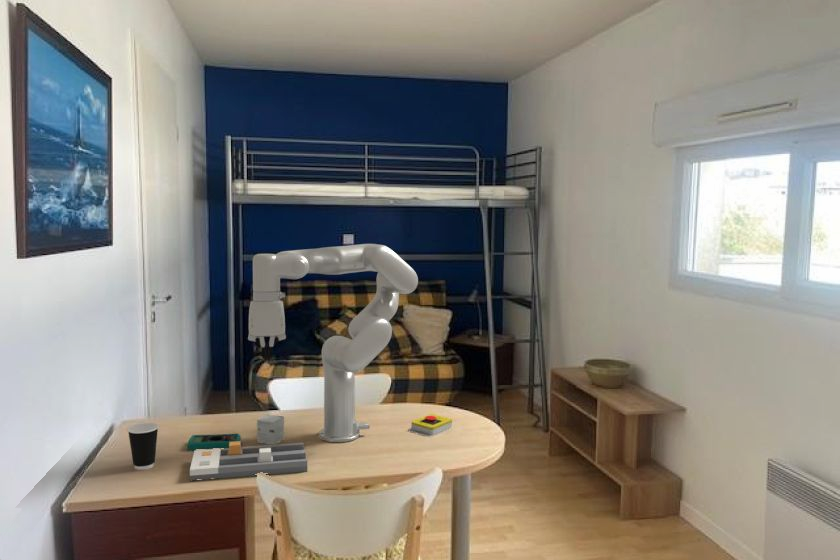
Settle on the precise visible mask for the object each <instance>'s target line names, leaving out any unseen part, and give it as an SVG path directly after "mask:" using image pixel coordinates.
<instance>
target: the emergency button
mask: <svg viewBox="0 0 840 560" xmlns="http://www.w3.org/2000/svg"><path fill="white" fill-rule="evenodd" d="M452 424H453V419H452V418H448V417H447V416H441V415H437V414H432V413H431V414H428V415H425V416H422V417H420V418H417V419H414V420H413V421H411V428H409V429H408V432H409V431H410V433H412V432H413V434H416V433H417V434H416V435H419V434H420V436H423V437H426V436H427V438H432V437H434V436H436V435H439V434H442V433H443V431H444V432H445V430H446V431H448V430H450V429H449V428H451V427H452ZM447 429H448V430H447ZM451 429H452V428H451Z"/></svg>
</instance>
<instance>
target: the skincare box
mask: <svg viewBox="0 0 840 560" xmlns="http://www.w3.org/2000/svg"><path fill="white" fill-rule="evenodd" d="M256 427H257V428H256V442H257V443H258V442H259V443H258V444H263V443H266V444H265V445H270V444H271V445H277V444H278V443H280V442H281V441H283V440H285V416H283V415H277V414H265V415H264V416H262V417H259V418H258V419H256ZM279 441H280V442H279ZM276 443H277V444H276Z"/></svg>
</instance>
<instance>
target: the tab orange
mask: <svg viewBox="0 0 840 560" xmlns="http://www.w3.org/2000/svg"><path fill="white" fill-rule="evenodd" d="M241 444H242V440H241V441H236V442H229V450H228V453H227V456H229V455H243V449H241V447H242V446H241Z"/></svg>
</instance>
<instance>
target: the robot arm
mask: <svg viewBox="0 0 840 560" xmlns="http://www.w3.org/2000/svg"><path fill="white" fill-rule="evenodd" d="M360 272H361V273H362V272H377V275H376V291H375V296H374V297H373V299H372V300H371V301H370V302H369V303H368V304H367V305H366V306H365V307H364V308H363V309H362V310H361V311H359V313H357V315H355V317H354V318H353V319H352V320H351V321H350V322H349V324H348V330H347V331H348V334H349V335H350V337H351V338H349V337H345V336H342V335H333V336H331V337H329V338H327V339H326V340H325V342H324V343H323V344H322V348H321V361H322V368H323V382H324V383H323V386H324V387H323V388H324V389H323V391H324V392H323V394H324V395H323V399H324V400H323V403H324V404H323V405H324V406H323V410H324V411H323V413H324V415H323V422H324V423H323V427H324V428H323V429H321V430H320V431H319V433H318V436H319V438H320V439H321V440H323V441H325V442H330V443H345V442H350V441H354V440H357V439H358V438H359V437H360V430H361V431H362V430H365V431H366V430H370V428H371V425H370V423H369V422H367V423H365V421H360V422H358V421H356V418H355V417H356V416H355V415H356V406H355V405H356V404H355V400H356V399H355V398H356V396H355V395H356V393H355V391H356V380H355V379H356V377H355V373H359V372H360V371H362V370H364V369H365V368H367V366H368V365H369V364H370V363H371V362H372V361H373V360H374V359H375V358H376V357H377V356H378V355H379V354H380V353H381V352H382V351H383V350H384V349H385V348H386V347H387V345H388V344H389V342H390V341H391V339H392V334H393V327H392V324H391V323H390V320H391V319H392V318H393V317H394V316H395V315H396V313H397V310H398V307H399V301H400V300H399V299H400V294H401V295H408V294H411V293H413V292H414V291H415V290H416V289H417V288H418V285H419V277H418V275H417V273H416V271H415V270H414V268H413V267H411V266H410V265H409V264H408V263H407V262H406V261H405V260H403V258H401V257H400V256H399V254H397V253H396V252H395V251H393V249H392V248H390V247H388V246H387V245H384V244H377V243H361V244H352V245H351V244H350V245H341V246H327V247H319V248H308V249H295V250H284V251H280V252H277V253H257V254H255V255H254V256H253V258H252V291H253V292H252V299H253V300H252V301H250V302H249V304H250V305H249V309H248V337H247V340H248V341H250V342H255V343H257V344H258V345H259V346H260V347H261V358H264V359H263V361H264V362H266V361H268V362H270V361H271V358H273V353H274V352H273V347H274V346H275V345H276V344H277V342H279V341H282V340H283V341H284V340H286V339H287V335H286V322H285V321H286V318H285V308H284V301H283V300H281V299H283V298H286V292H282V291H281V279H289V280H298V279H301V278H302V279H303V277H305V276H306V275H307V274H320V275H321V274H322V275H327V276H328V275H333V276H334V275H344V274H350V273H351V274H352V273H360ZM267 337H269V341H268V343H266V341H265V338H267Z"/></svg>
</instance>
